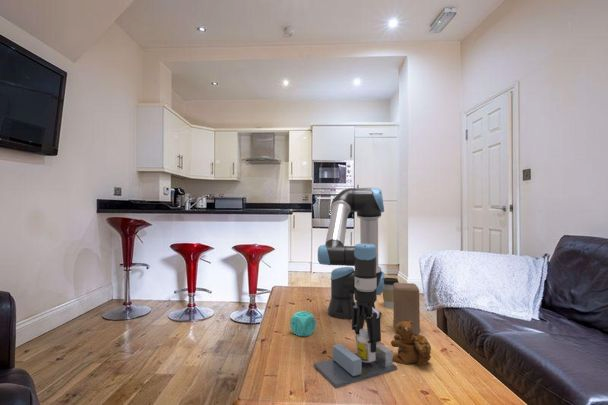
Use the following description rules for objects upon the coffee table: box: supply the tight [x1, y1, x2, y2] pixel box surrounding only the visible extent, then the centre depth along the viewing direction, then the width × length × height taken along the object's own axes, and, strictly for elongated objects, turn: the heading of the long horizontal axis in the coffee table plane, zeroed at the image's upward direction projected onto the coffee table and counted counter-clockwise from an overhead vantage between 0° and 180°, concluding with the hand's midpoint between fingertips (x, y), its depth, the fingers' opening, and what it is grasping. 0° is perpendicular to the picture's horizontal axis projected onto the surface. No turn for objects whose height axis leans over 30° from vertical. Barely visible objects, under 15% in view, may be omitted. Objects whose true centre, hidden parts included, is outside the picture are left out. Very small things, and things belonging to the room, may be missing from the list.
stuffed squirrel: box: [390, 321, 432, 365], centre depth 107 cm, size 10×14×13 cm
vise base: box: [313, 342, 398, 389], centre depth 101 cm, size 14×24×6 cm, turn 116°
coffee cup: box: [382, 277, 400, 309], centre depth 167 cm, size 10×10×15 cm
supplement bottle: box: [358, 327, 369, 363], centre depth 104 cm, size 5×5×10 cm
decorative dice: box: [289, 310, 317, 337], centre depth 131 cm, size 8×8×8 cm
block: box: [392, 282, 421, 336], centre depth 133 cm, size 10×10×20 cm
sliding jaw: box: [332, 343, 361, 376], centre depth 100 cm, size 12×4×5 cm, turn 26°
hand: (365, 356), depth 103 cm, fingers open, 6 cm apart
